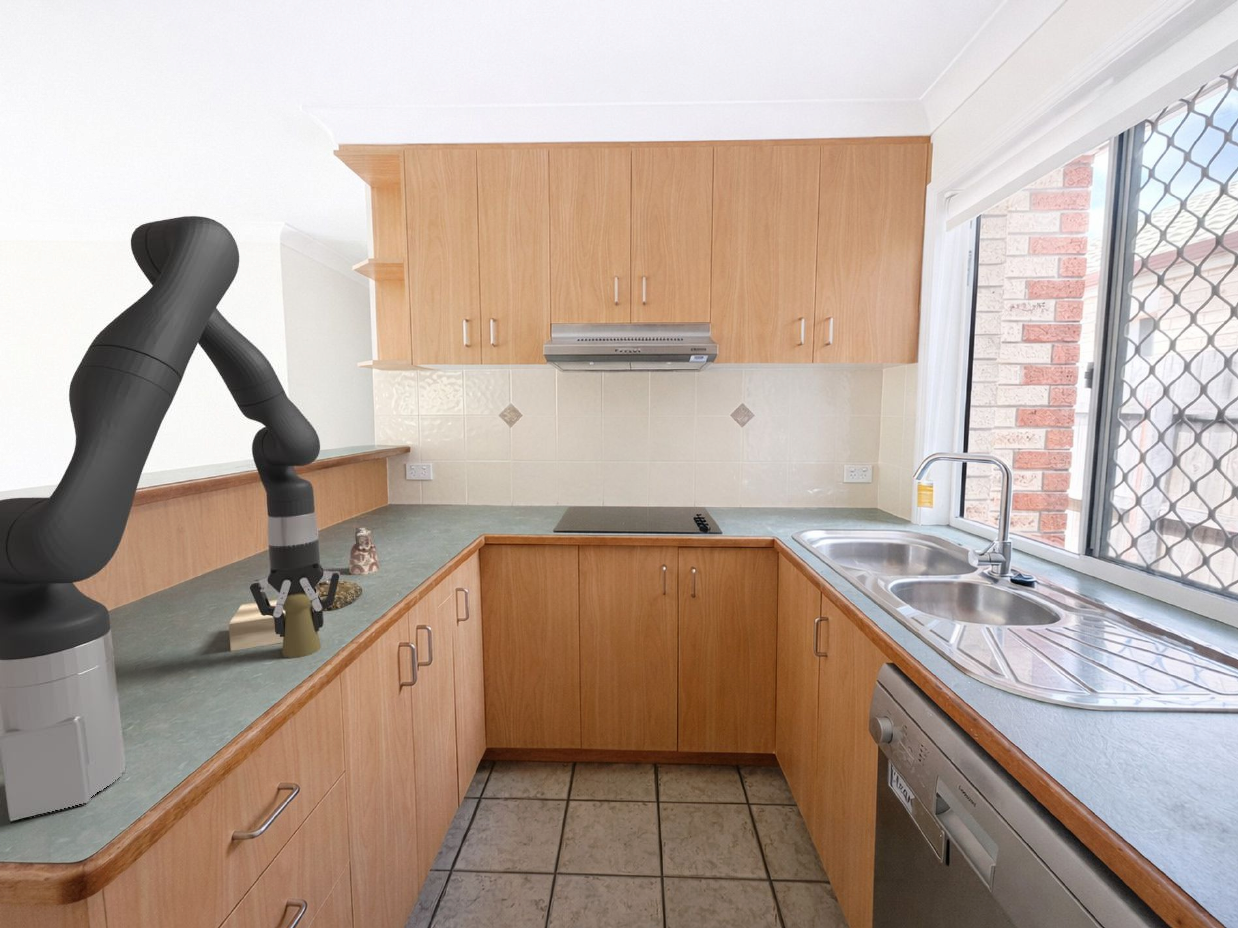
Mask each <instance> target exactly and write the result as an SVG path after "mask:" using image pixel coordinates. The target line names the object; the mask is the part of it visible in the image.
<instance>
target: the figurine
mask: <svg viewBox="0 0 1238 928" xmlns="http://www.w3.org/2000/svg"><path fill="white" fill-rule="evenodd" d="M355 529H356V530H355V538H354V539H355V543H354V544H353V545H352V547H351V549H350V552H349V556H350V557H349V566H348V567H349V568H348V570H349V574H350V573H351V574H350V575H352V574H355V575H356V576H358V575H359V576H360V575H361V576H364V575H363V574H365V575H369V574H368V573H370V574H373V573H375V571H376V572H378V571H379V570H380V566H379V560H378V553H377V546H376V545H375V544H374V543H373V542H372V541H373V540H372V535H371V534H372V531H371V530H370V529H368V527H367V528H366V527H361V526H359V525H358V526H356V527H355Z"/></svg>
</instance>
